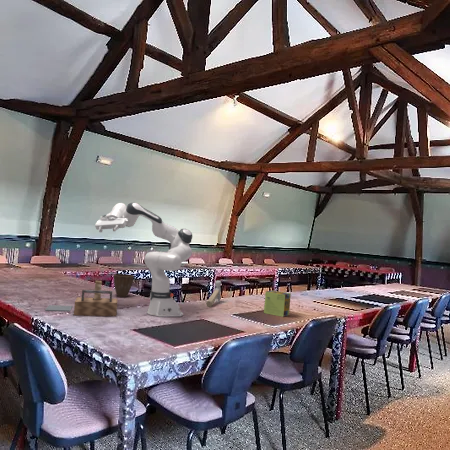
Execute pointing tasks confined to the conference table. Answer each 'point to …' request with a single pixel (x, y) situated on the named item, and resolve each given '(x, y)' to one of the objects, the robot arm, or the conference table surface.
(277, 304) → the protein box
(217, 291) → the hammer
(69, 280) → the conference table surface
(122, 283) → the plant pot
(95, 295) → the wooden key
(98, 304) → the toolbox
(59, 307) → the slate mat
